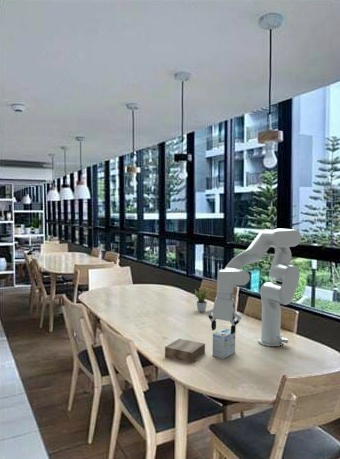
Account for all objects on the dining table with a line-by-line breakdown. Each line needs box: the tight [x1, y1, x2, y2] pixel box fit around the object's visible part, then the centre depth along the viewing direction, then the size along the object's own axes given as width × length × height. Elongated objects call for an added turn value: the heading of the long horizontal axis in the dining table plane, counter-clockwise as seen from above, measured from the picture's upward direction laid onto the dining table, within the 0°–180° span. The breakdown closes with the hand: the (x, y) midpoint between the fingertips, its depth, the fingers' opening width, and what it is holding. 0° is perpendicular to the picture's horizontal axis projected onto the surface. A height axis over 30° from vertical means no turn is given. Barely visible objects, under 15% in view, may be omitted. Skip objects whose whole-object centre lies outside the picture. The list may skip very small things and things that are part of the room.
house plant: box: [193, 287, 213, 312], centre depth 262 cm, size 14×14×16 cm
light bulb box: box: [212, 328, 236, 359], centre depth 183 cm, size 11×7×11 cm, turn 141°
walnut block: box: [164, 338, 206, 364], centre depth 182 cm, size 14×14×5 cm
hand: (223, 331), depth 183 cm, fingers open, 9 cm apart
